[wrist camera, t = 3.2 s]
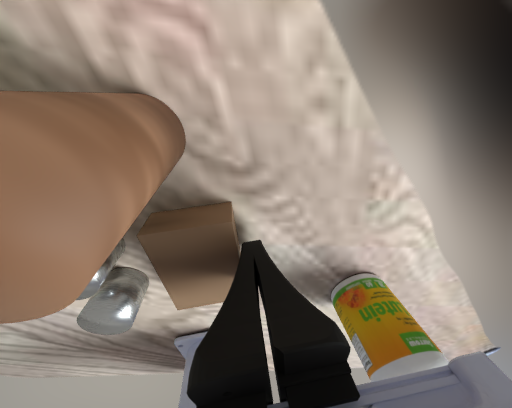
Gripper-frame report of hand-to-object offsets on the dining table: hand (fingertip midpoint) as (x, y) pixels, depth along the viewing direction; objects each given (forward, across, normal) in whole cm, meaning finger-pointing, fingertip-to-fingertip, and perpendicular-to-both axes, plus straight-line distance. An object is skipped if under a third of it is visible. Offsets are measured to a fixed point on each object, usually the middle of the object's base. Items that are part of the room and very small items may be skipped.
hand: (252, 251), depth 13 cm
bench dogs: (+1, +10, 0) cm, 10 cm away
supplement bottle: (+1, -10, +9) cm, 13 cm away
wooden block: (+2, +3, 0) cm, 4 cm away
